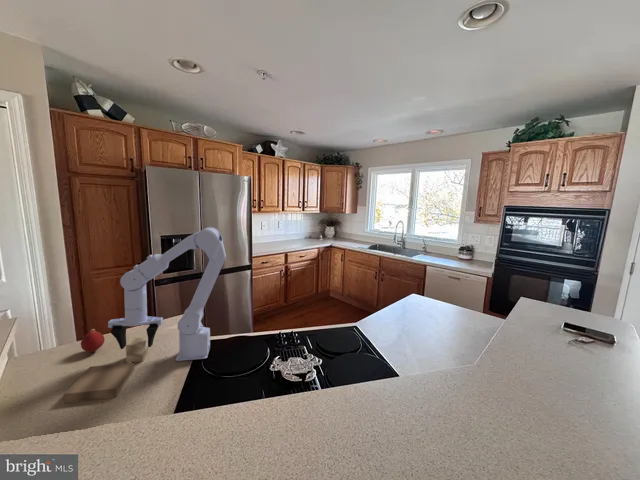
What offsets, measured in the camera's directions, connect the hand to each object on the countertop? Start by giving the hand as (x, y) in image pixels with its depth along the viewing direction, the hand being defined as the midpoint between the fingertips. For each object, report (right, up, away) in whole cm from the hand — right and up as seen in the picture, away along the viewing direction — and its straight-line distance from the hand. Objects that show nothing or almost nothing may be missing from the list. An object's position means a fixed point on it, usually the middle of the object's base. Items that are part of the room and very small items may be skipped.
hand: (137, 346), depth 82 cm
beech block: (0, -4, +1) cm, 4 cm away
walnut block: (-1, -6, -12) cm, 13 cm away
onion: (-16, -3, +2) cm, 17 cm away
